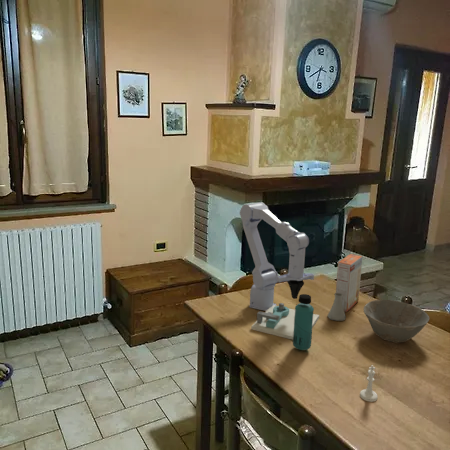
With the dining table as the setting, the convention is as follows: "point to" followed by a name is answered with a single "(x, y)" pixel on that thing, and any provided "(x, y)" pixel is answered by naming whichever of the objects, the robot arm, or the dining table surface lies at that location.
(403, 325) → the ceramic bowl
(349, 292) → the cracker box
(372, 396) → the chess piece
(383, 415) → the dining table surface
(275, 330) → the board
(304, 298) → the beverage bottle
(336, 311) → the flask
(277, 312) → the link
